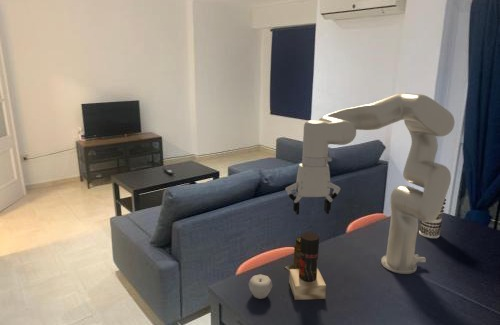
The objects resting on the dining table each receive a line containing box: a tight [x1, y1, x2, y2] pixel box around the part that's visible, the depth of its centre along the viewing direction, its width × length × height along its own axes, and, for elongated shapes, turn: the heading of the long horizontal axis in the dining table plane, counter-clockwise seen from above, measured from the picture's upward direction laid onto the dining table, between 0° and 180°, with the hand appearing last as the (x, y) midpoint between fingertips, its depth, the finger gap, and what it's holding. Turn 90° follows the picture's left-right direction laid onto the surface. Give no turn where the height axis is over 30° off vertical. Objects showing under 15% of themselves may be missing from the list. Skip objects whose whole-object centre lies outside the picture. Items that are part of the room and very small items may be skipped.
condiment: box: [284, 236, 301, 272], centre depth 131 cm, size 7×8×12 cm
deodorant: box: [299, 231, 320, 282], centre depth 117 cm, size 6×6×15 cm
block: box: [288, 267, 327, 301], centre depth 120 cm, size 10×10×5 cm
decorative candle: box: [418, 198, 447, 239], centre depth 159 cm, size 9×9×25 cm
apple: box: [248, 273, 273, 300], centre depth 116 cm, size 8×8×7 cm
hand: (311, 212), depth 113 cm, fingers open, 9 cm apart
